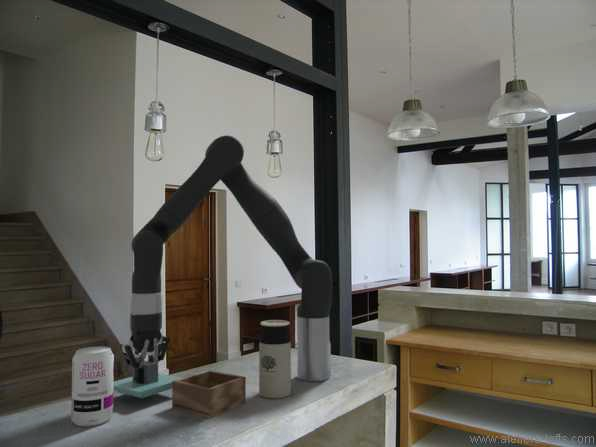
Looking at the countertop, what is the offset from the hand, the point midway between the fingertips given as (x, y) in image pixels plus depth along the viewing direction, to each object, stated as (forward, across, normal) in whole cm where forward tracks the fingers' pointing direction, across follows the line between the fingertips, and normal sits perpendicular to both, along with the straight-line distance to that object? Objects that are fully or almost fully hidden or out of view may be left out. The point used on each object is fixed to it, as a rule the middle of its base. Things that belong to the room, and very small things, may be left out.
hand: (145, 380), depth 116 cm
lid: (+2, 0, 0) cm, 2 cm away
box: (+4, -5, +17) cm, 18 cm away
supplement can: (+4, +16, +3) cm, 17 cm away
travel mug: (+4, -20, +25) cm, 32 cm away
